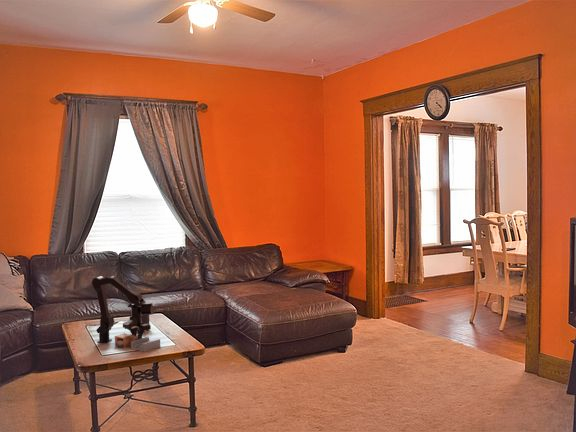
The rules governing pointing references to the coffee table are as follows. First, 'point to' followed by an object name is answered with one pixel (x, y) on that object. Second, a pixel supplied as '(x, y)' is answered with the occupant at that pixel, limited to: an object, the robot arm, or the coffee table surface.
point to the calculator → (144, 320)
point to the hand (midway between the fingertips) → (137, 340)
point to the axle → (120, 343)
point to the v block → (145, 344)
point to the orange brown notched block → (125, 339)
